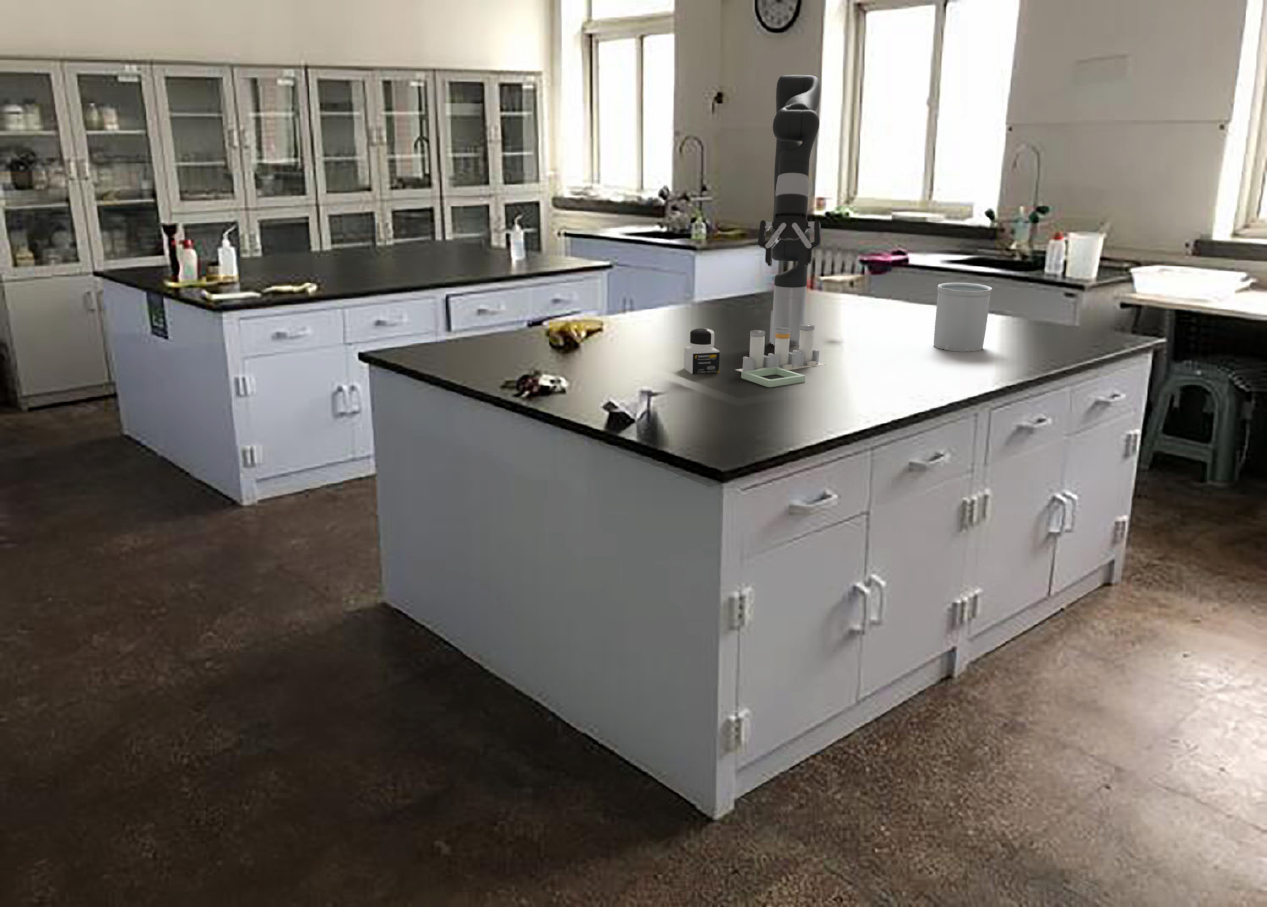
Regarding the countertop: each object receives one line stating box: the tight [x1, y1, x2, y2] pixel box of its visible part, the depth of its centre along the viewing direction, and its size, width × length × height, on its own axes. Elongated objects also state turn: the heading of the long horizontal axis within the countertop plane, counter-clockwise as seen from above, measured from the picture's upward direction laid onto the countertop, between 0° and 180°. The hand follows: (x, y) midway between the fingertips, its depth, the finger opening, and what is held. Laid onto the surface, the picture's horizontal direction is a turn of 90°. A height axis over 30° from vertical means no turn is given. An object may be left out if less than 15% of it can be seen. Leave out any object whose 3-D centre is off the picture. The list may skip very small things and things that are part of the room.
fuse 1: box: [749, 329, 766, 370], centre depth 262 cm, size 4×4×10 cm
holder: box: [735, 348, 827, 372], centre depth 267 cm, size 7×24×5 cm, turn 121°
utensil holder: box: [933, 282, 993, 353], centre depth 297 cm, size 15×15×18 cm
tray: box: [740, 367, 806, 388], centre depth 254 cm, size 11×11×3 cm
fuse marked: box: [774, 327, 790, 369], centre depth 266 cm, size 4×4×10 cm
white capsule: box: [798, 323, 816, 365], centre depth 270 cm, size 4×4×10 cm
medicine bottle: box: [683, 327, 721, 375], centre depth 262 cm, size 7×7×12 cm
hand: (787, 265), depth 242 cm, fingers open, 8 cm apart
